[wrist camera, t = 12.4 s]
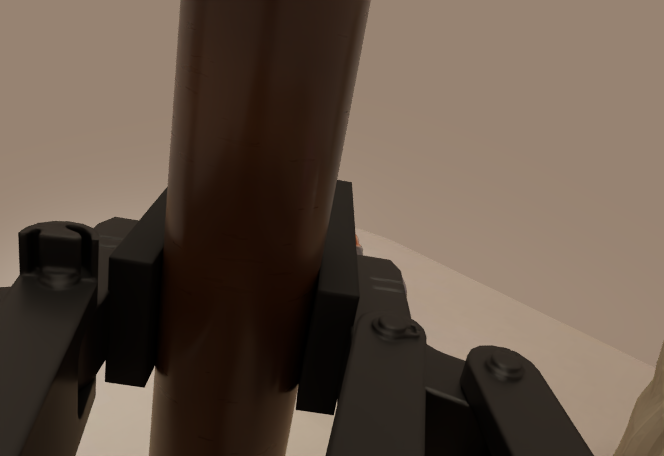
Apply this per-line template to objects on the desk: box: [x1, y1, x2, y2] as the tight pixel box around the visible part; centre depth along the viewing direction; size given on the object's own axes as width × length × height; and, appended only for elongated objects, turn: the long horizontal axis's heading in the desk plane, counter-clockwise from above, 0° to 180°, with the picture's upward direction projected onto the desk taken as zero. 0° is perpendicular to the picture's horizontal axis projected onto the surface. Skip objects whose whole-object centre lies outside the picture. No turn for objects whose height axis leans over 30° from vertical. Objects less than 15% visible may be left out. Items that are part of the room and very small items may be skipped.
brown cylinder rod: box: [149, 0, 371, 456], centre depth 12 cm, size 4×4×16 cm
